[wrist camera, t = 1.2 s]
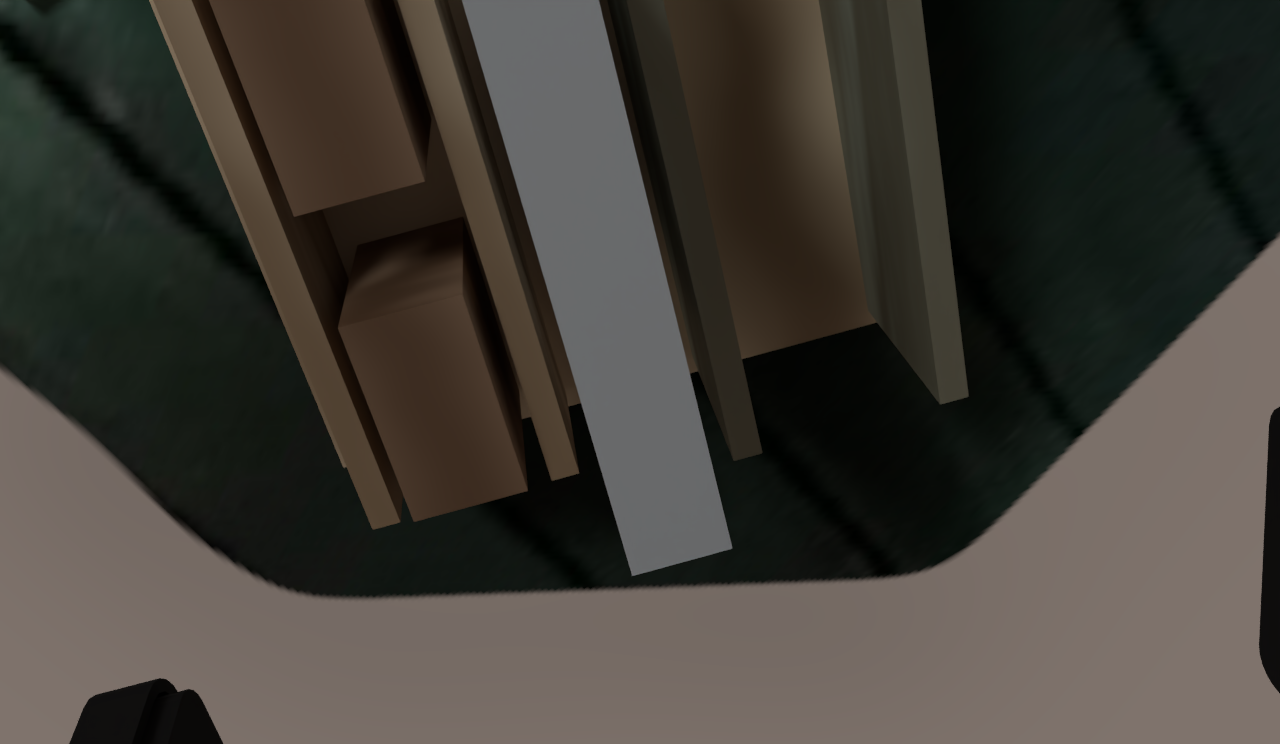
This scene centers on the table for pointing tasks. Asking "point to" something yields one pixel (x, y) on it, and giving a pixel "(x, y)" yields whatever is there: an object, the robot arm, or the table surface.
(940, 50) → the table surface
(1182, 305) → the table surface
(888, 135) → the rack
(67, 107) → the table surface
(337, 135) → the offcut
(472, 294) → the offcut
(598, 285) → the sheet
